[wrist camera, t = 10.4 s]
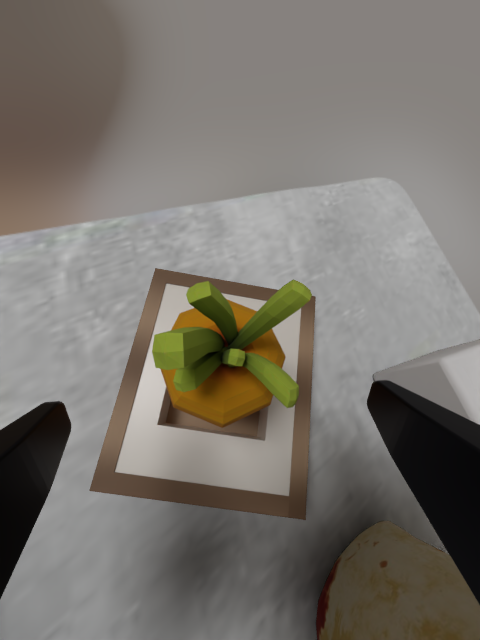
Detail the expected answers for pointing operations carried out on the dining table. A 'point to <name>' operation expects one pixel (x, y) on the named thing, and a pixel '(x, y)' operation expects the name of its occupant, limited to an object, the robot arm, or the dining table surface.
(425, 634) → the food model
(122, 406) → the walnut box
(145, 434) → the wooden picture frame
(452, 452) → the robot arm
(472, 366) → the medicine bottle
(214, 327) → the carrot
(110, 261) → the dining table surface
